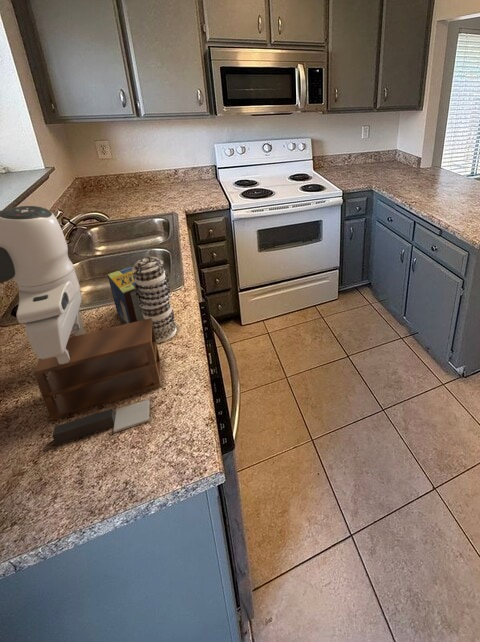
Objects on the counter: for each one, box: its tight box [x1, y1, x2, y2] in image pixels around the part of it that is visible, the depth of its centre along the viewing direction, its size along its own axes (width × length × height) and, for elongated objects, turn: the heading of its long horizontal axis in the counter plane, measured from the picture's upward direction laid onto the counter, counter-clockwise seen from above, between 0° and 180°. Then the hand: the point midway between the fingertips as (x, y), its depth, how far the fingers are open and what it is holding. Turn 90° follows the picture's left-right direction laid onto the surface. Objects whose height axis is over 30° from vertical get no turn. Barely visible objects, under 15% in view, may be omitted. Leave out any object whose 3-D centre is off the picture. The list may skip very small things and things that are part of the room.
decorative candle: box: [132, 256, 177, 344], centre depth 105 cm, size 9×9×25 cm
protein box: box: [107, 265, 143, 325], centre depth 114 cm, size 10×15×16 cm
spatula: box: [51, 398, 151, 446], centre depth 79 cm, size 18×6×3 cm, turn 114°
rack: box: [33, 318, 162, 421], centre depth 87 cm, size 23×10×14 cm, turn 114°
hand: (70, 345), depth 73 cm, fingers open, 8 cm apart
